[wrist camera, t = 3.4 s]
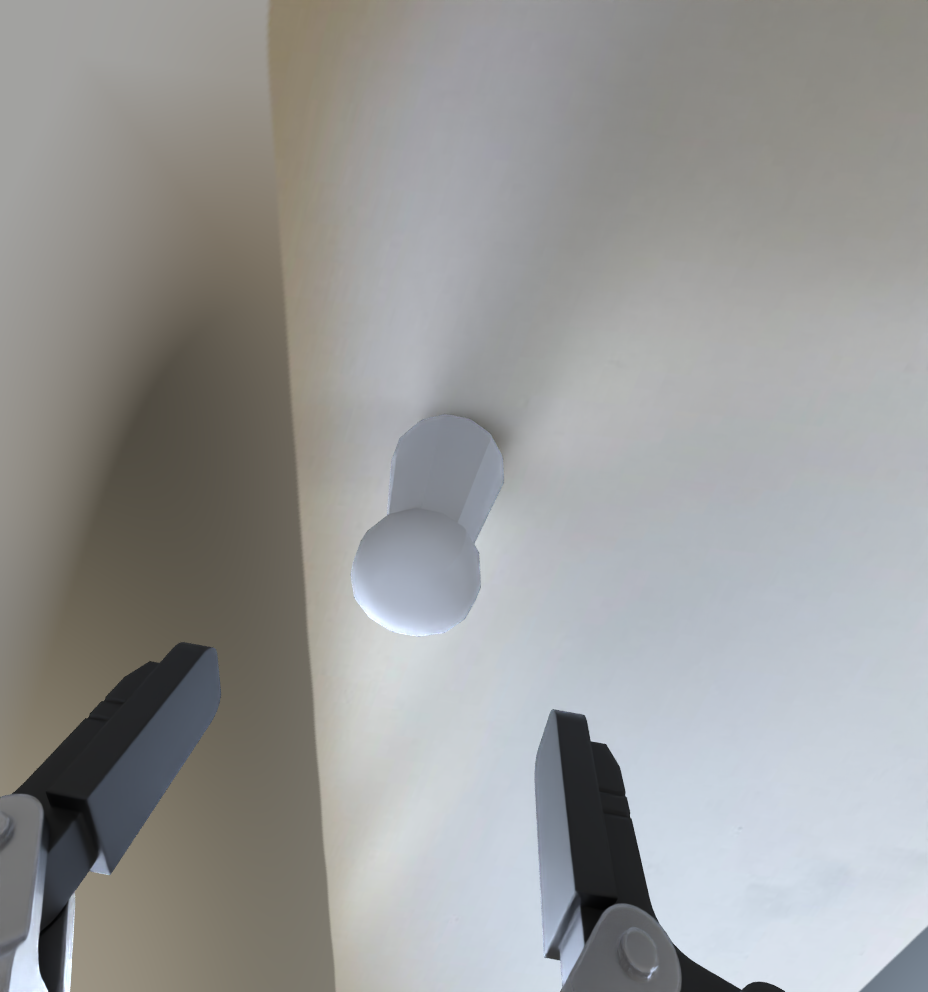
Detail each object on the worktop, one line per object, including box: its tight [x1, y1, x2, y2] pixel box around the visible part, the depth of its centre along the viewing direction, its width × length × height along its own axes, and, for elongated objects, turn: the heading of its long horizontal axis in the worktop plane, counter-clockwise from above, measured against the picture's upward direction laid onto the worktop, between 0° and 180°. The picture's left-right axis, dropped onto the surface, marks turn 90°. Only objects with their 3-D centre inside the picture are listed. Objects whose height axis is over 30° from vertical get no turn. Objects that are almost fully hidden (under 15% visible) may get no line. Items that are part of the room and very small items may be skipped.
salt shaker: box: [351, 414, 504, 637], centre depth 21 cm, size 6×6×13 cm
